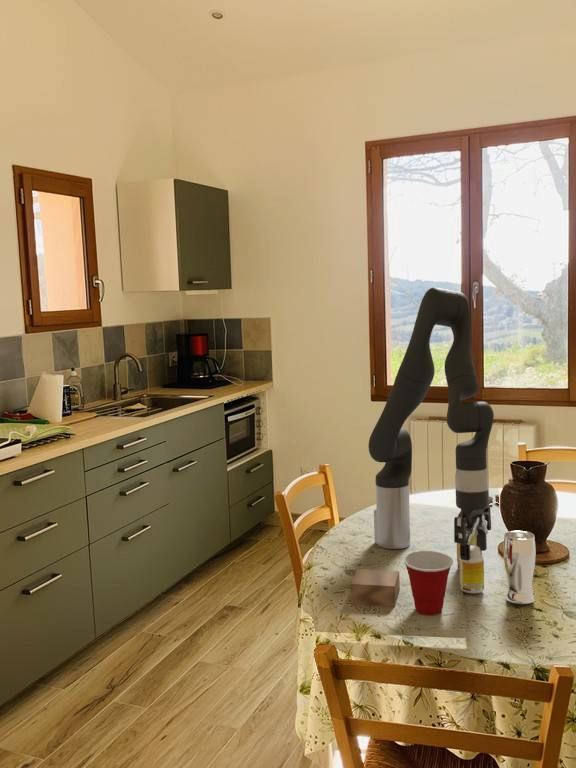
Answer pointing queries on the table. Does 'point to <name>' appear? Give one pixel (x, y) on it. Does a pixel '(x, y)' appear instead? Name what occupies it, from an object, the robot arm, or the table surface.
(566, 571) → the table surface
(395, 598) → the walnut block
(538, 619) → the table surface
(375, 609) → the table surface
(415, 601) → the plastic cup
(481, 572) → the supplement bottle
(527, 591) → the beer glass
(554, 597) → the table surface
